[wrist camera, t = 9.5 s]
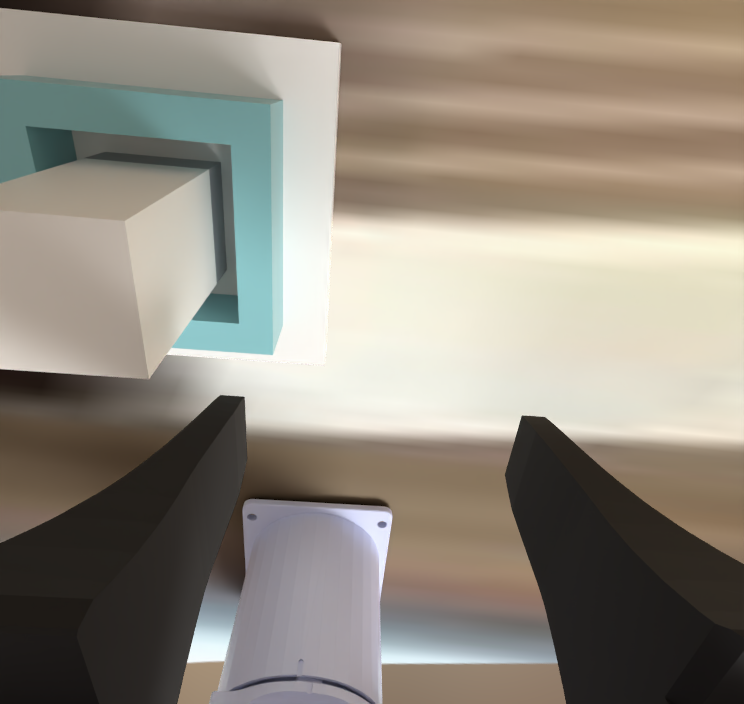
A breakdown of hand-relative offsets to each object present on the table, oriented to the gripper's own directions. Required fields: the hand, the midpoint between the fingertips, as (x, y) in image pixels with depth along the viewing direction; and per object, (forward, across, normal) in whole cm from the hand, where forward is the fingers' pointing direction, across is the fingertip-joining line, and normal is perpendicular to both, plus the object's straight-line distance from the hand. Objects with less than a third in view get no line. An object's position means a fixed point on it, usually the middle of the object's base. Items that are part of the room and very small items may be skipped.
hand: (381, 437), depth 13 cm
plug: (+8, +8, -3) cm, 12 cm away
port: (+9, +8, -3) cm, 13 cm away
